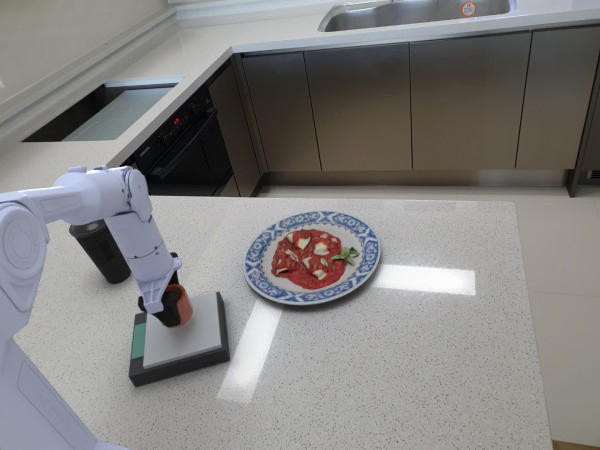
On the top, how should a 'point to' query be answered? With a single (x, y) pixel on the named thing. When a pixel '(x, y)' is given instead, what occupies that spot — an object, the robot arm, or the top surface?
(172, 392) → the top surface
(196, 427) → the top surface
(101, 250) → the drinking cup
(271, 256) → the ceramic plate
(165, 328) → the scale
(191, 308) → the flower pot
